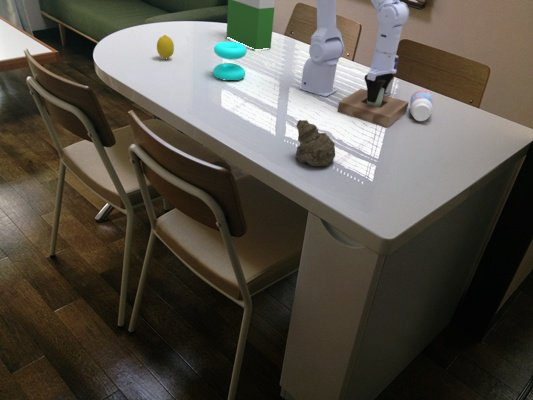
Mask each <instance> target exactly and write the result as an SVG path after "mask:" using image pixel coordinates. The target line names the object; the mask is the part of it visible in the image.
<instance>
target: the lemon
mask: <svg viewBox="0 0 533 400" xmlns="http://www.w3.org/2000/svg"><path fill="white" fill-rule="evenodd" d="M174 50H175V44H174V41H173V40H172V38H171V37H169V36H168V35H166V34H163V35H162V36H160V37H159V38H158V40H157V42H156V51H157V53H158V55H159V56H160V57H161V58H163V59H164V58H165V59H164V60H167V59H169V58H171V57H172V55H173V54H174ZM166 58H167V59H166Z"/></svg>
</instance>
